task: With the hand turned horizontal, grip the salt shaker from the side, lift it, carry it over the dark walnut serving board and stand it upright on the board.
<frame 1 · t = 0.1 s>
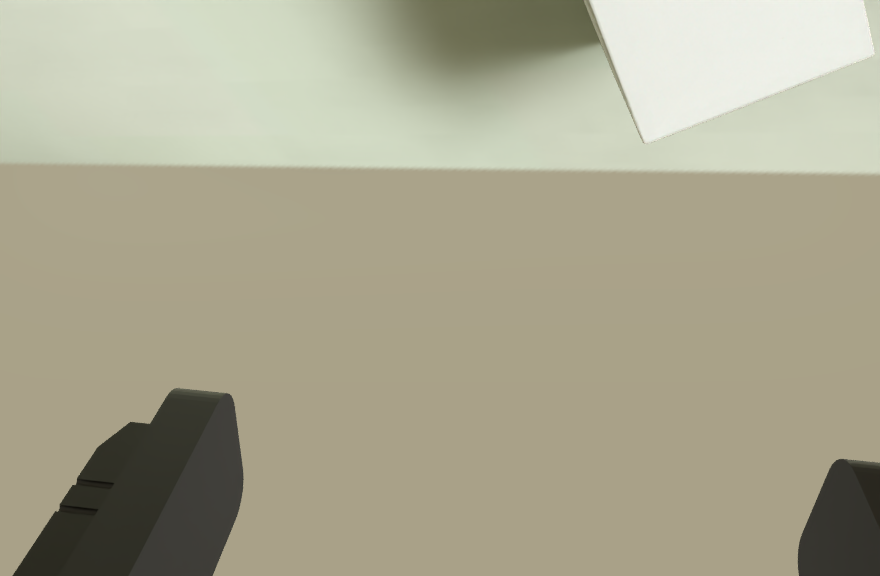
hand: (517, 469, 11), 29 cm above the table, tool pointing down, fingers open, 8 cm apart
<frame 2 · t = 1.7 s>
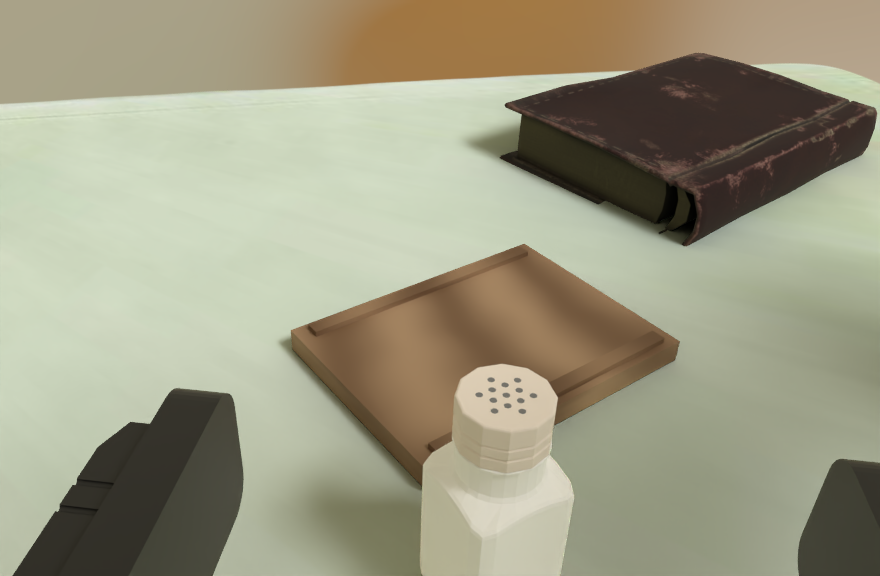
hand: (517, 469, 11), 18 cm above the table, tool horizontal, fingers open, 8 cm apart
walnut board: (484, 354, 42), on the table
diary: (682, 163, 65), on the table
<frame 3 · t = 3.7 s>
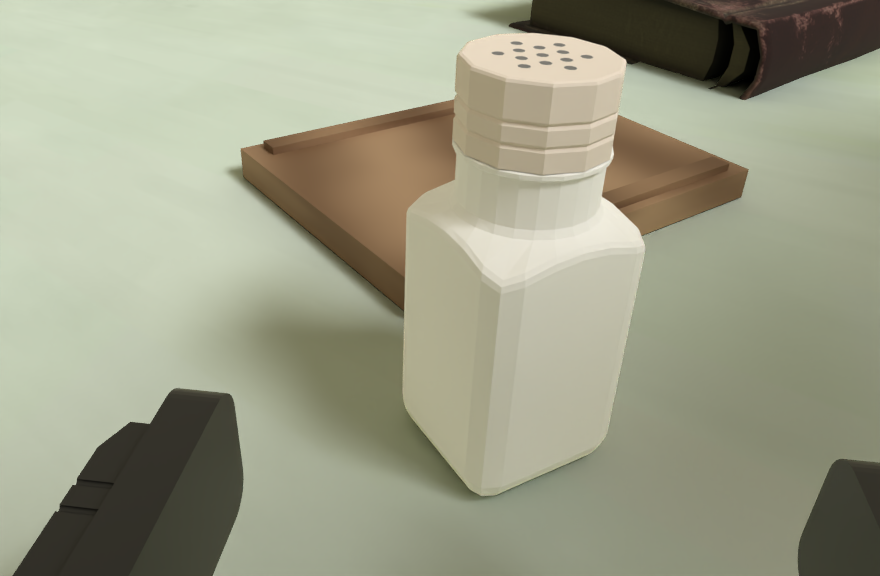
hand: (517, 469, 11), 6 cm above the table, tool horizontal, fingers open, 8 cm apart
salt shaker: (499, 437, 20), on the table
walnut board: (493, 186, 32), on the table
diary: (721, 38, 56), on the table
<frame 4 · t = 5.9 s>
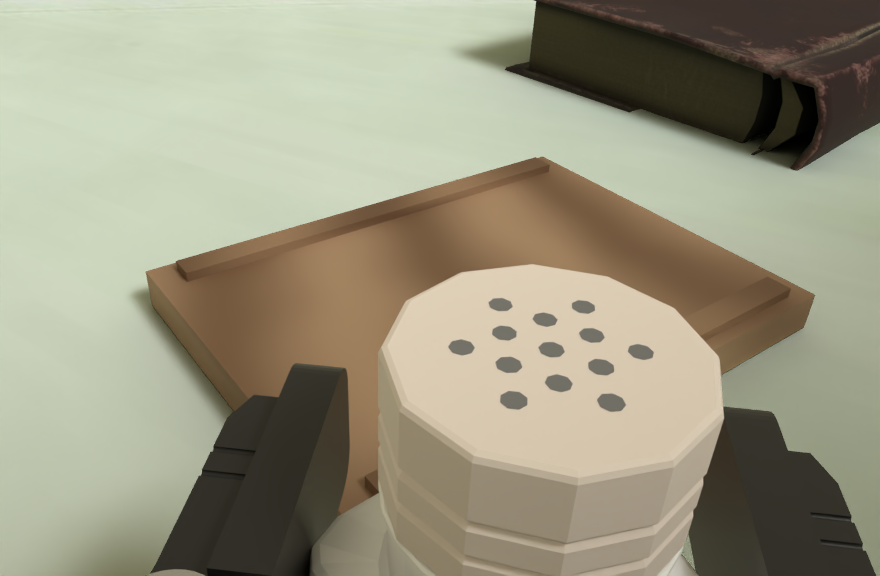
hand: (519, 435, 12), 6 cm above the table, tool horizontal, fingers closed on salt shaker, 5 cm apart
walnut board: (480, 316, 25), on the table
diary: (749, 78, 48), on the table
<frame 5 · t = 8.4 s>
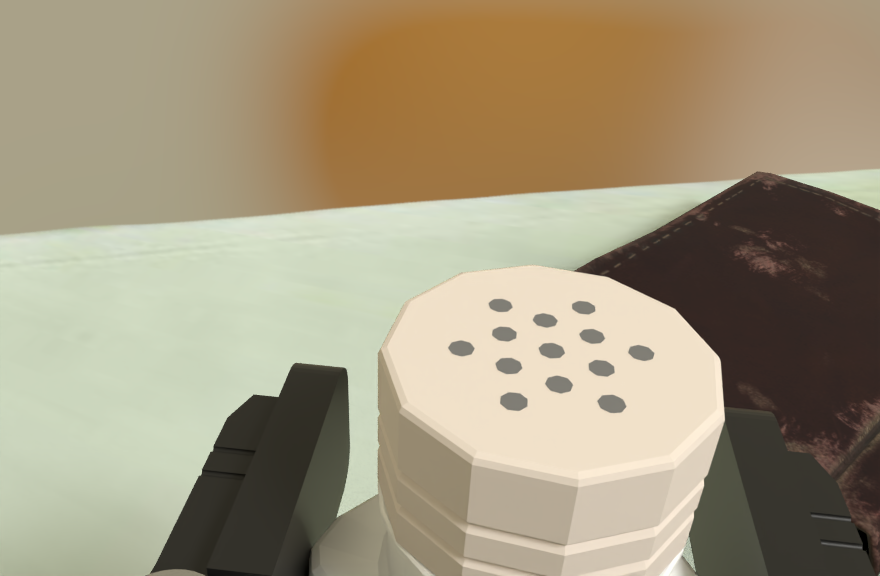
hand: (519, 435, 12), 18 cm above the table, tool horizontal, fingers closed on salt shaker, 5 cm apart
diary: (771, 367, 43), on the table
when the fingers open (8 cm above the table, at t = 11.2 s): salt shaker stays where it is, resting on walnut board.
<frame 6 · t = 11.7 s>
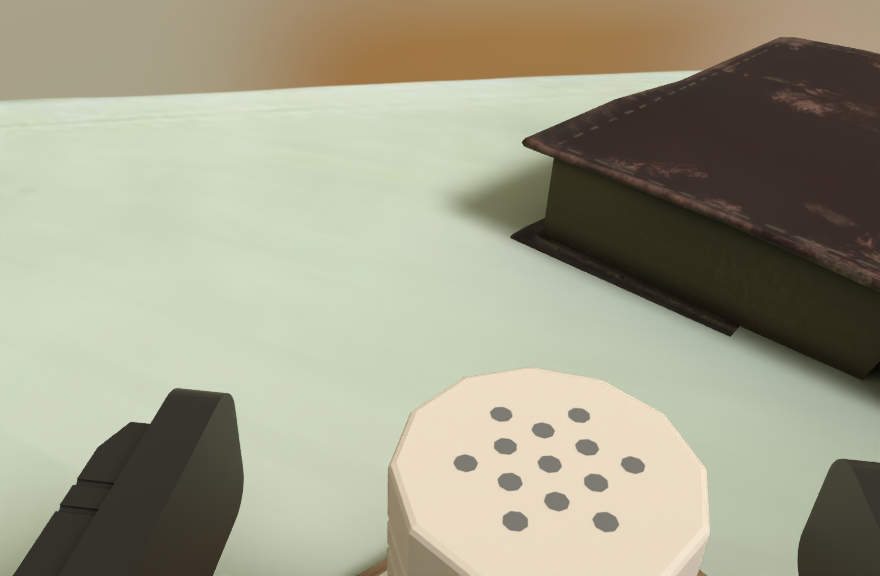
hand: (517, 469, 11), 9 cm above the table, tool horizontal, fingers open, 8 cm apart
diary: (818, 225, 38), on the table
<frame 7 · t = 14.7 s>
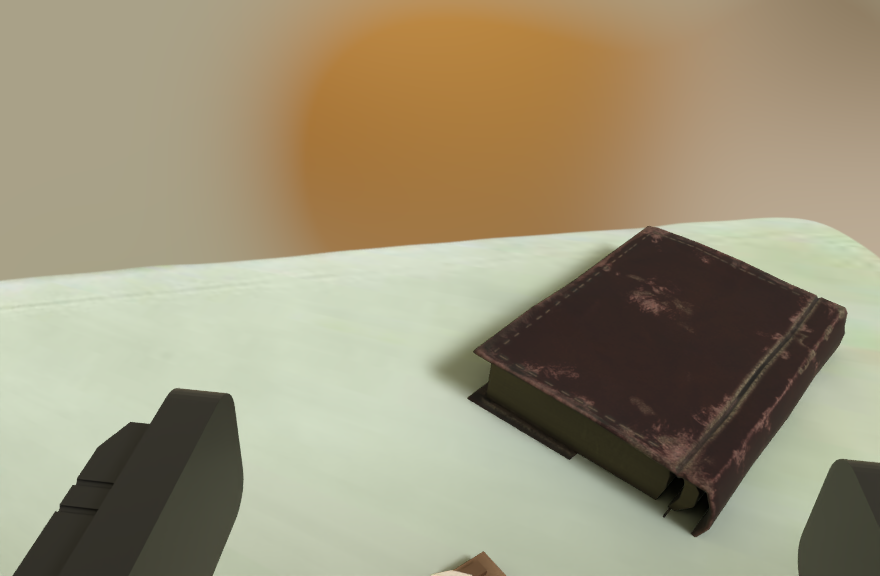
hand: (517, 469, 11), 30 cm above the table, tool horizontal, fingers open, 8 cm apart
diary: (657, 378, 60), on the table
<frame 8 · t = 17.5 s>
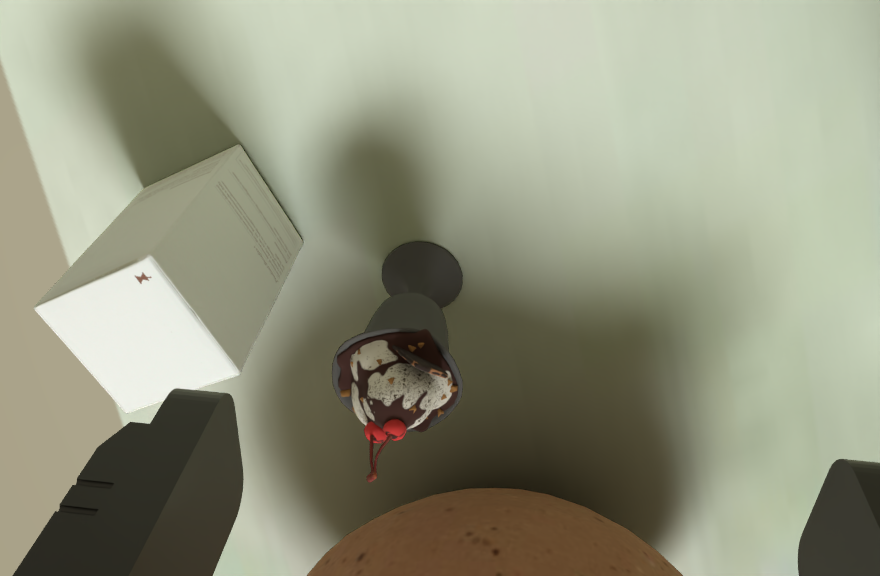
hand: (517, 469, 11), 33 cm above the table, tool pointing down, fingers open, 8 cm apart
sundae: (422, 275, 49), on the table
supplement box: (226, 214, 48), on the table
clay pot: (505, 540, 61), on the table
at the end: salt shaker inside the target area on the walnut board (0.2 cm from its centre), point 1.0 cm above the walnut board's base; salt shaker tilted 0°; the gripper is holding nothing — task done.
